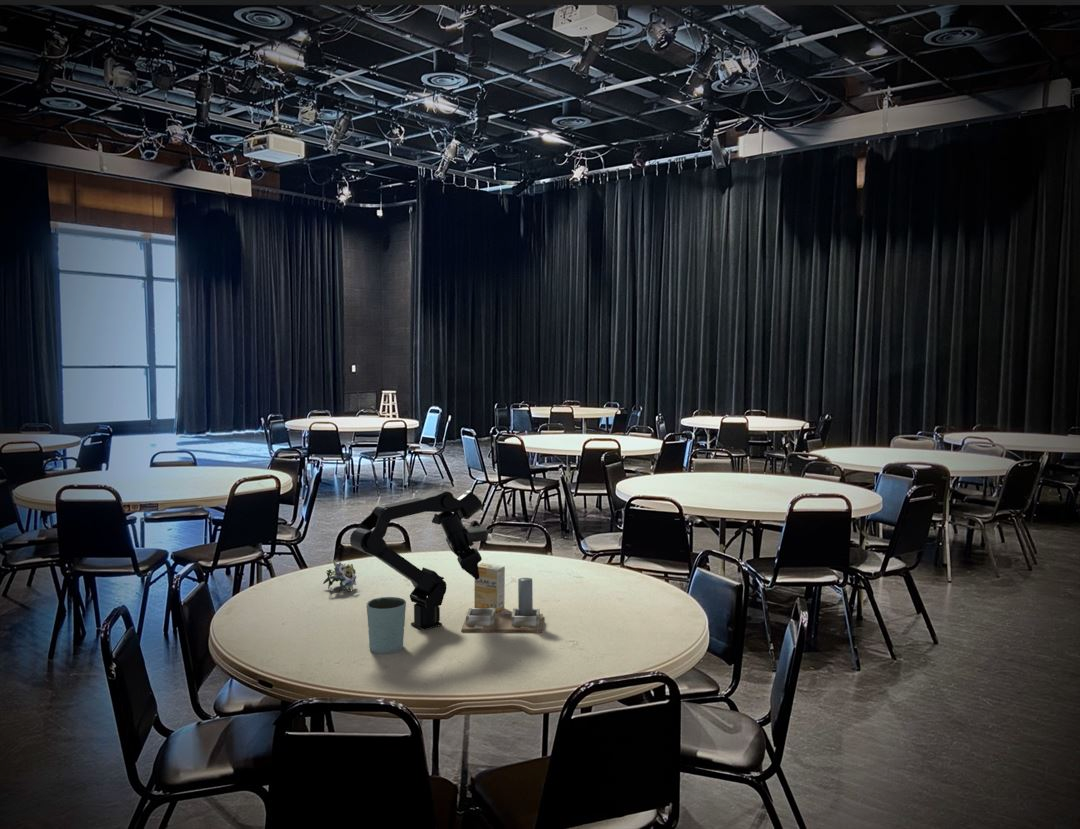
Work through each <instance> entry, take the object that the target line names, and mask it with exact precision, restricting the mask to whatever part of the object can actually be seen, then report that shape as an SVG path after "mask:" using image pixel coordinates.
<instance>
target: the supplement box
mask: <svg viewBox="0 0 1080 829" xmlns="http://www.w3.org/2000/svg"><path fill="white" fill-rule="evenodd" d="M478 571H479V577H480V578H479V579H477V580H476V579H475V578H474V598H473V599H474V602H473V603H474V605H473V606H474V607H473V608H496V613H498V612H500V611H501V610H503V609H505V599H506V598H505V594H506V593H505V590H506V588H505V587H506V586H505V581H506V580H505V578H506V577H505V576H506V574H505V573H506V568H505V566H504V565H496V564H491V563H490V564H489V563H484V562H481V563H478Z"/></svg>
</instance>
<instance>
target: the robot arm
mask: <svg viewBox="0 0 1080 829" xmlns="http://www.w3.org/2000/svg"><path fill="white" fill-rule="evenodd" d="M482 509H483V502H482V501H481V499H480V498H479V497H478V496H477V495H476V494H474V492H473V490H471V489H470V490H469V489H467V490H466V491H465V492H464V493H463V494H462V495H460V496H459V497H457V498H456V497H454V495H453V493H452V492H450V491H447V490H443V489H438V488H436V489H435V488H434V489H432V490H430V491H428V492H425V493H424V494H422V495H421V496H419V497H416V498H415V497H414V498H411V499H407V500H401V501H397V502H393V503H387V504H382V505H381V504H379V505H377V506H375V507H374V508H373V509H372V511H371V513H370V514H369V515H367V517H365V518H364V519H363V520H362V521H361V522H360V523H359V525H358V526H357V528H356V529H353V531H352V533H351V534H350V539H349V540H350V542H349V543H350V546H351V547H352V548H353V549H356V550H358V551H360V552H363V553H366V554H368V555H370V556H371V557H372V556H373V557H375V558H376V559H378V560H379V561H381V562H382V563H384V564H385V565H387V566H389V567H390V568H391V569H392V570H394V571H395V572H397V573H398V574H400V575H401V576H403V577H404V578H406V579H407V580H408V581H410V582H411V584H412V586H413V587H414V589H413V590H412V592H411V593H410V594H409V598H410V602H412V603H414V604H413V622H411V623H410V625H411V626H413V627H416V628H418V629H420V630H421V631H422V630H428V629H432V628H436V627H440V626H442V625H443V623H442V622H440V620H441V616H440V615H441V610H440V609H441V608H440V606H442V604H443V600H444V596H445V594H446V592H447V585H448V584H447V582H446V581H445V580H444V579H445V577H444V576H440V575H439V574H438V573H437V572H436V571H435V570H433V569H430V568H426V567H422V569H420V568H418V567H417V566H416V565H414V564H413V563H411V561H409V560H407V559H406V558H404V557H403V556H401V554H399V553H397V552H396V551H394V550H393V549H391V547H389V546H388V544H387V542H386V541H385V539H384V537H385V536H386V535H387V531H388V527H389V524H390V523H391V521H393V520H396V519H400V518H405V517H409V516H414V515H417V514H421V513H429V512H430V513H431V512H432V513H434V514H433V515H434V516H433V517H432V520H431V523H432V524H435V525H439V526H440V525H441V527H442V530H443V532H444V535H445V542H446V543H447V546H448V547H449V549H450V551H451V552H452V553H454V555H455V556H456V557H457V559H456V560H457V562H458V564H459V566H460V567H461V569H462V570H463V571H465V572H466V573H467V574H469V575H470V576H471V577H472V578H474V580H475V579H476V580H477V579H479V578H480V577H479V571H478V564H480V562H482V560H483V558H482V555H481V554H480V552H479V550H478V549H477V548H475V547H474V548H473V547H472V546H474V545H475V543H476V542H487V541H488V540H489V539H488V537H489V536H488V535H489V534H488V529H487V527H486V526H485V524H482V523H480V524H479V522H478V520H476V519H475V520H471V522H470V524H469V526H468V527H466V526H465V524H463V521H462V519H464V520H469V519H470V518H472V517H473V516H474V515H475V514H476V513H478V512H479V511H480V510H482ZM437 513H438V514H437ZM470 547H472V548H470Z"/></svg>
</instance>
